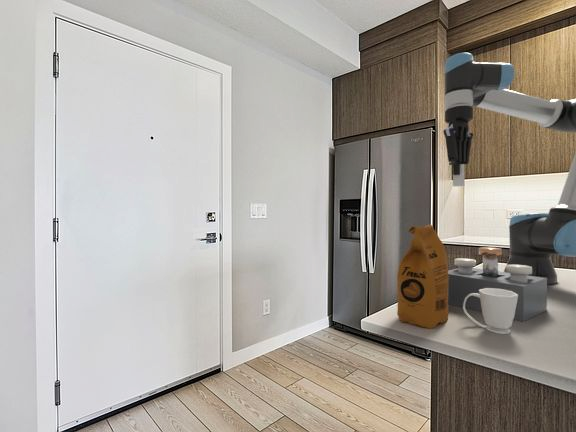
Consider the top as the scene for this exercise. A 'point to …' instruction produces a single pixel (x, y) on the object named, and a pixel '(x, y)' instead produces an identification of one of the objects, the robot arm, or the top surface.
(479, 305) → the grey pod holder
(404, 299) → the coffee package
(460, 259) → the knob
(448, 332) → the top surface
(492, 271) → the brown lidded jar
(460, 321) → the top surface
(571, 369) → the top surface
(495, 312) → the cup
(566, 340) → the top surface
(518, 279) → the knob
